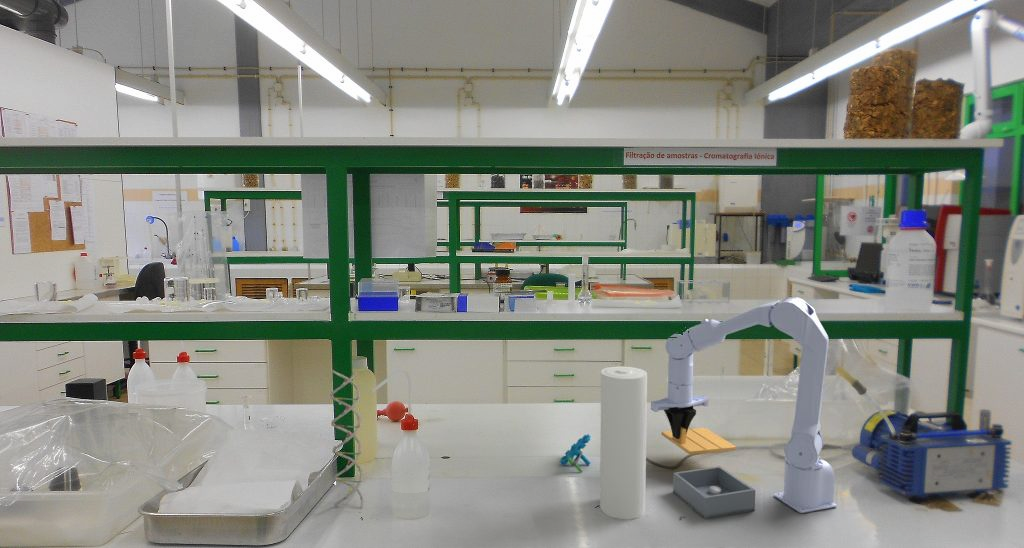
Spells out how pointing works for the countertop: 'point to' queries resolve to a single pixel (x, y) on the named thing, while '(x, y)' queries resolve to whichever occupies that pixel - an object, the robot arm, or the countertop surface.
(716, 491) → the tub
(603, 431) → the cylinder container
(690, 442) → the lid
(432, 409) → the countertop surface
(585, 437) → the blue knobbly piece
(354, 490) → the dna model
